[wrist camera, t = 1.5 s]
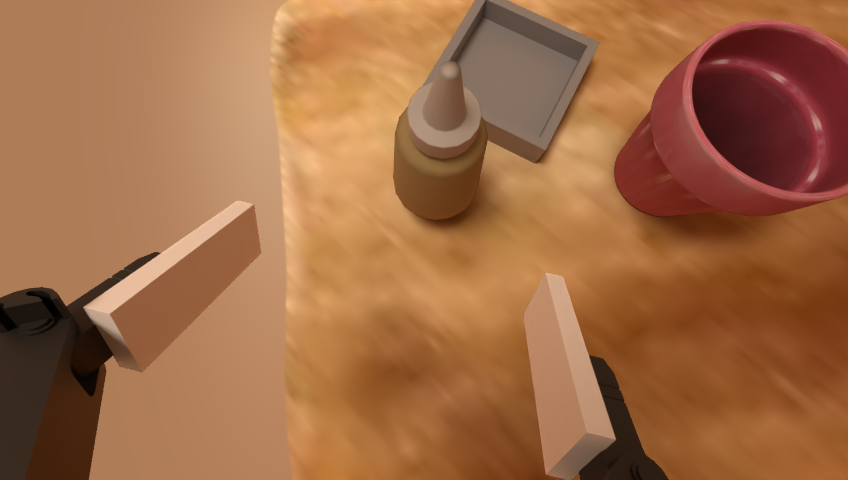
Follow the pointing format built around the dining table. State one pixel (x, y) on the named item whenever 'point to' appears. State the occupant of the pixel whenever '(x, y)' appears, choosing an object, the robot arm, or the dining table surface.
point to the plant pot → (744, 126)
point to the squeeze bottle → (440, 147)
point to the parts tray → (518, 72)
